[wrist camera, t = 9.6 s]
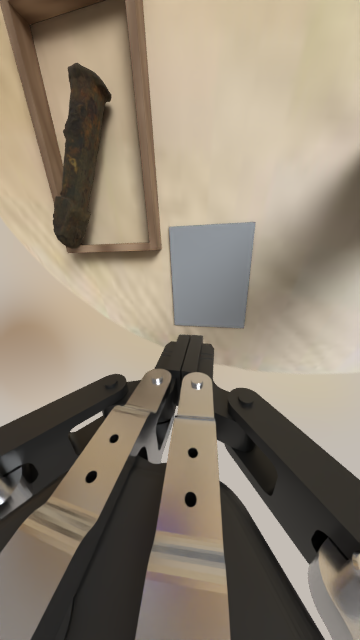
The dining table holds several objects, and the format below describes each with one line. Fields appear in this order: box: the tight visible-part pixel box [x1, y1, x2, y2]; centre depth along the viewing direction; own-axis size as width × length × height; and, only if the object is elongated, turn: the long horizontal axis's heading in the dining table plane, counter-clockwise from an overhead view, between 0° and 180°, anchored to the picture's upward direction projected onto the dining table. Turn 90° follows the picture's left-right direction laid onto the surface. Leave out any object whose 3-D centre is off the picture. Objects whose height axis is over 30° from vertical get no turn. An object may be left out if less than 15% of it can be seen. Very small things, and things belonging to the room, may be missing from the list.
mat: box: [169, 222, 255, 328], centre depth 30 cm, size 12×16×1 cm
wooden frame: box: [0, 0, 162, 253], centre depth 24 cm, size 15×26×2 cm, turn 2°
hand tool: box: [53, 63, 111, 249], centre depth 24 cm, size 19×4×5 cm, turn 159°
